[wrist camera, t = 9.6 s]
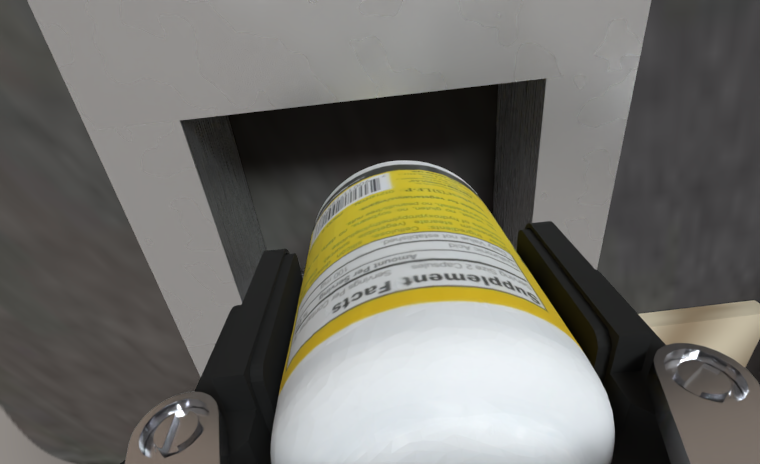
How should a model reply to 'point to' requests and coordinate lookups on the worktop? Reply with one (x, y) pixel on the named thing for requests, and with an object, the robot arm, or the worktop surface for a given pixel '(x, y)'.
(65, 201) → the worktop surface
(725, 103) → the worktop surface
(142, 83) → the socket block
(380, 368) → the supplement bottle
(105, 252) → the worktop surface
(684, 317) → the oak board
